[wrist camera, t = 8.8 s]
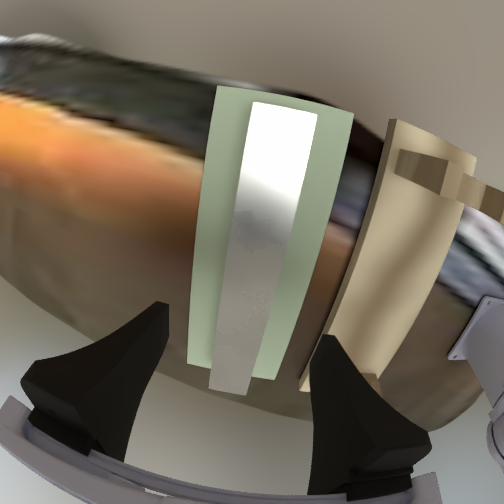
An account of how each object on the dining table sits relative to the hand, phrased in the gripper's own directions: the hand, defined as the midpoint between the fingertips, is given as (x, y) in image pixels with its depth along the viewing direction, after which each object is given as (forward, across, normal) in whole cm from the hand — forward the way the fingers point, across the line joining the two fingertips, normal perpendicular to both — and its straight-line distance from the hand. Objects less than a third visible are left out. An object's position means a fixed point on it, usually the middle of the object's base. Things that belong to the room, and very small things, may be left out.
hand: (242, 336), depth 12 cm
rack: (+7, -10, 0) cm, 12 cm away
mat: (+7, 0, 0) cm, 7 cm away
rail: (+7, 0, 0) cm, 7 cm away
